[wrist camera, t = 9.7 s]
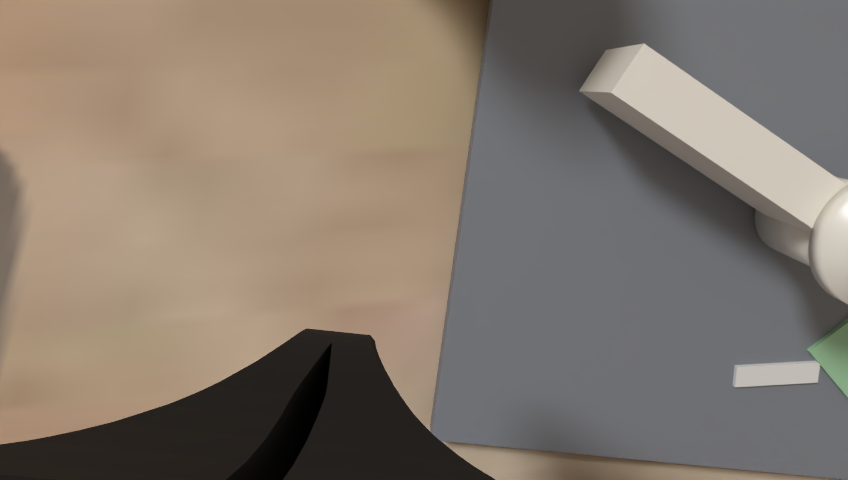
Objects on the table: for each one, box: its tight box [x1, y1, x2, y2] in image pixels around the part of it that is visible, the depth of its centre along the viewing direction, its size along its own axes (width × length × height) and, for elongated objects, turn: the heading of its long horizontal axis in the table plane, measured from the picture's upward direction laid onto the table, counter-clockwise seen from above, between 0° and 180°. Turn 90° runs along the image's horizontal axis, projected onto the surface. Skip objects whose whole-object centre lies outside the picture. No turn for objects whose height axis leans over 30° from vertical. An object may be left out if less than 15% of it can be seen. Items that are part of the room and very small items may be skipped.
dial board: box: [430, 0, 848, 480], centre depth 20 cm, size 18×22×1 cm
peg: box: [579, 43, 848, 304], centre depth 17 cm, size 15×4×4 cm, turn 58°
